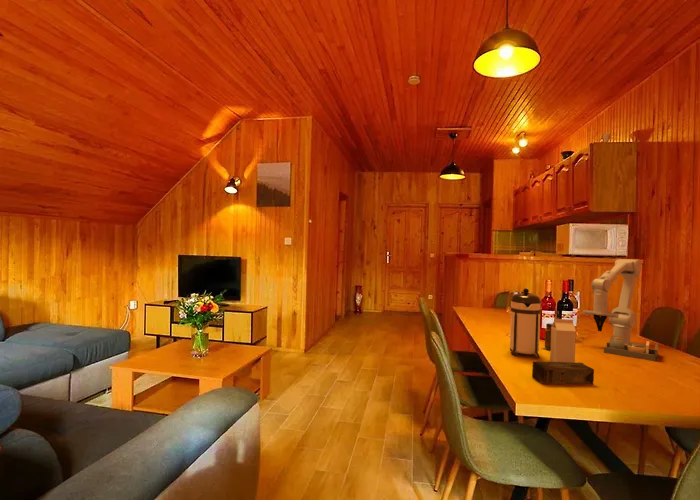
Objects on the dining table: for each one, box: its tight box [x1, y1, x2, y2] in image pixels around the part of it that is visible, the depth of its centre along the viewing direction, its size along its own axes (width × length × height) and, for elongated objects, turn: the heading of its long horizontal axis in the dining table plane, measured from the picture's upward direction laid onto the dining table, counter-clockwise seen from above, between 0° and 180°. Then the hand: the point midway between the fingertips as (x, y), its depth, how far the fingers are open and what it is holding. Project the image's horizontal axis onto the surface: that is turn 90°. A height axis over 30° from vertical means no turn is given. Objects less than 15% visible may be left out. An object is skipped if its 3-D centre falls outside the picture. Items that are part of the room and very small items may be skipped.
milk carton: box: [549, 318, 577, 363], centre depth 156 cm, size 7×7×19 cm
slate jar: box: [609, 335, 624, 350], centre depth 179 cm, size 6×6×7 cm
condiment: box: [541, 322, 553, 351], centre depth 180 cm, size 7×8×12 cm
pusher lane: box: [603, 341, 659, 362], centre depth 175 cm, size 13×20×5 cm, turn 50°
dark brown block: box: [531, 360, 595, 386], centre depth 137 cm, size 8×19×7 cm, turn 92°
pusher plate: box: [645, 341, 650, 354], centre depth 171 cm, size 10×1×6 cm, turn 140°
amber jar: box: [627, 341, 646, 353], centre depth 174 cm, size 7×7×5 cm
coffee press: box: [509, 288, 542, 359], centre depth 172 cm, size 17×16×30 cm
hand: (599, 330), depth 185 cm, fingers closed
